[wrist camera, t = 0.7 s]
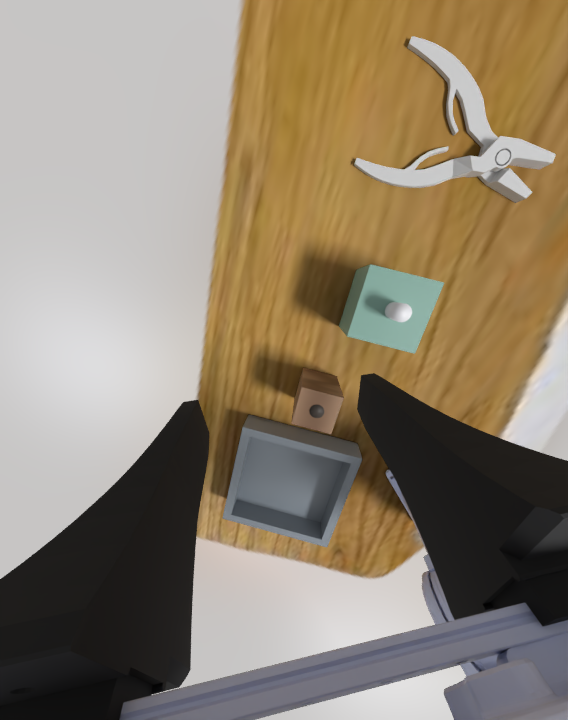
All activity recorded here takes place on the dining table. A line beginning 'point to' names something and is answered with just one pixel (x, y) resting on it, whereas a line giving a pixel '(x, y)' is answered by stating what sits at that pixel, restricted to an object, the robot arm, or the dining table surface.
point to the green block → (389, 307)
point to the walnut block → (317, 401)
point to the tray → (290, 480)
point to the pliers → (492, 150)
